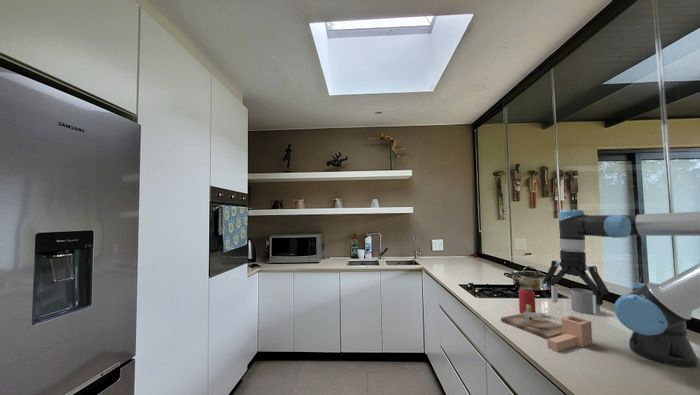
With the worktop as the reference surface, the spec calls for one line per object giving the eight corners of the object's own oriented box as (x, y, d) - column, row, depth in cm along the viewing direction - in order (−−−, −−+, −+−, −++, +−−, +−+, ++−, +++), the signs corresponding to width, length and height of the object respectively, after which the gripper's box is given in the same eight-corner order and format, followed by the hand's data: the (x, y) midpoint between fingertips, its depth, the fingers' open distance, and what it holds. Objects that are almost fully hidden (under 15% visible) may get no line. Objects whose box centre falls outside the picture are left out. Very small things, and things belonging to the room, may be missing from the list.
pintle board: (574, 333, 109) (573, 313, 110) (549, 340, 103) (548, 319, 103) (524, 316, 128) (524, 299, 128) (500, 321, 121) (500, 303, 122)
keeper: (525, 327, 115) (524, 311, 115) (540, 329, 113) (539, 313, 113) (526, 330, 112) (525, 313, 112) (542, 332, 110) (541, 315, 110)
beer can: (530, 311, 134) (529, 286, 135) (538, 316, 128) (537, 289, 129) (516, 310, 135) (515, 285, 136) (523, 315, 128) (522, 289, 129)
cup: (568, 309, 137) (567, 289, 137) (577, 307, 140) (576, 287, 141) (588, 315, 129) (587, 293, 130) (597, 312, 132) (596, 291, 133)
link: (572, 336, 106) (571, 315, 106) (592, 344, 100) (591, 321, 100) (542, 345, 98) (541, 323, 99) (562, 354, 93) (561, 329, 93)
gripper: (620, 254, 94) (623, 317, 93) (544, 246, 117) (545, 296, 116) (608, 255, 91) (611, 321, 90) (532, 246, 114) (534, 299, 112)
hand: (574, 307), depth 103 cm, fingers open, 13 cm apart
